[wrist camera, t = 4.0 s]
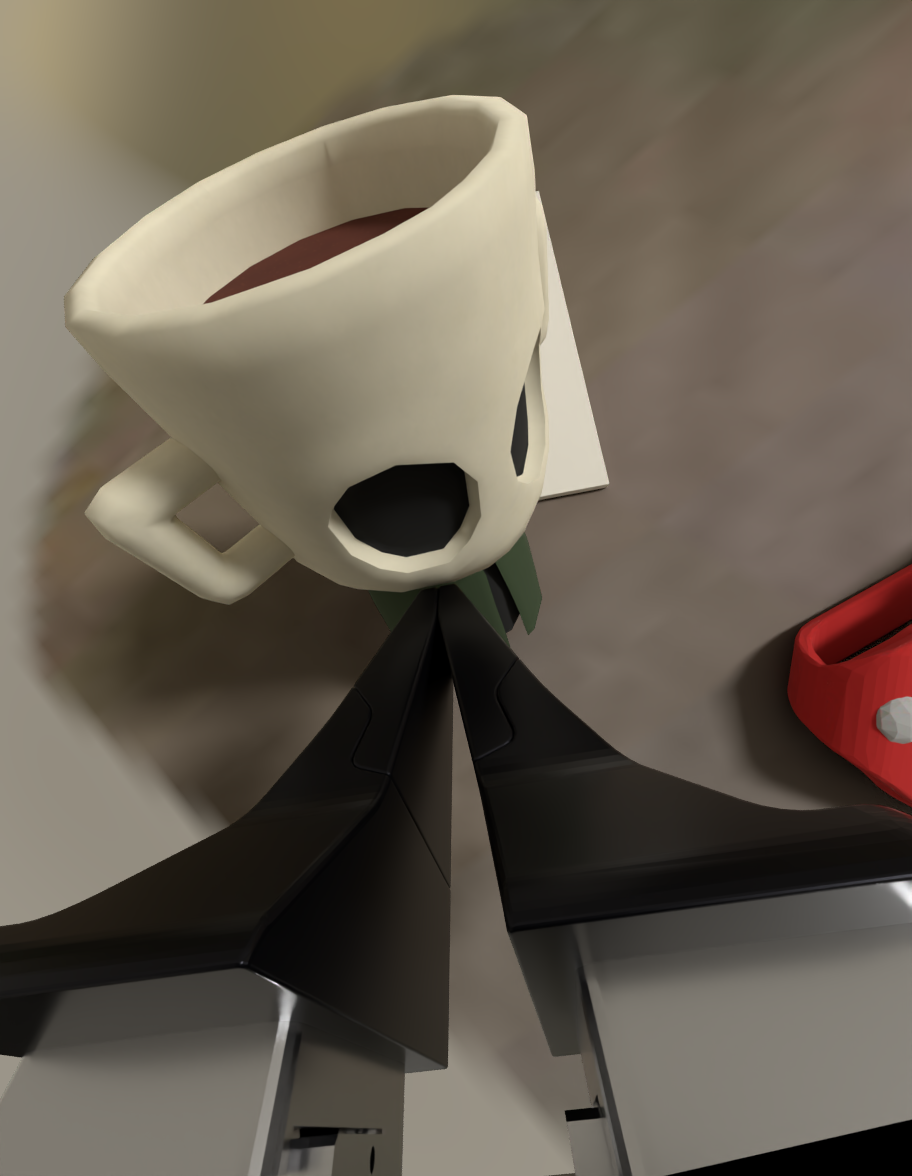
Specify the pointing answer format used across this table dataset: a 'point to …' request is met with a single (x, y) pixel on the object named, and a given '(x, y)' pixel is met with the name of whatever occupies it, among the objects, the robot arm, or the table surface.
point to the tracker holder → (861, 682)
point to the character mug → (340, 360)
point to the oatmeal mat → (567, 403)
